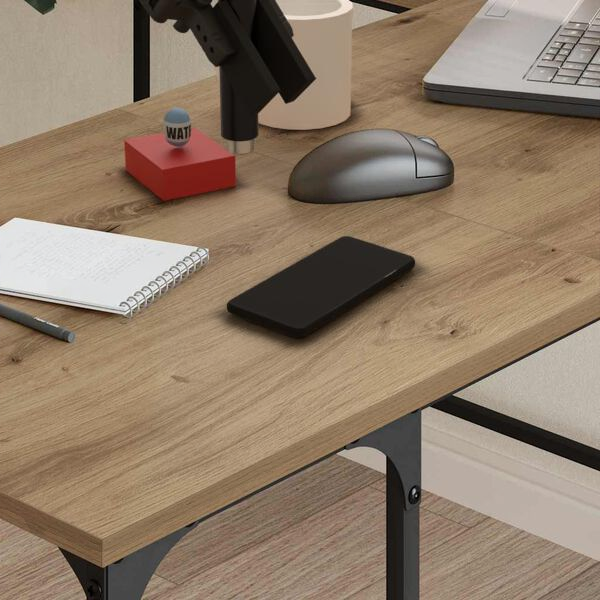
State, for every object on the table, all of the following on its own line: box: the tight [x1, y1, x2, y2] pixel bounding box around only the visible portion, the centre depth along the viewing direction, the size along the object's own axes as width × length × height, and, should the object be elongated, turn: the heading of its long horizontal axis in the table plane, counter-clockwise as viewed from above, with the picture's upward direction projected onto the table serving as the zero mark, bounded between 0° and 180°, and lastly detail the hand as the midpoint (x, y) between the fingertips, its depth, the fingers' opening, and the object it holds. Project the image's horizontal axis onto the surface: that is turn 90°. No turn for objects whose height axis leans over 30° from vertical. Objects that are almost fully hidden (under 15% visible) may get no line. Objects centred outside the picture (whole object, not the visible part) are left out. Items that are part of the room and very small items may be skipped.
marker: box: [217, 0, 259, 156], centre depth 87 cm, size 2×2×14 cm
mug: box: [212, 0, 354, 131], centre depth 137 cm, size 14×10×11 cm
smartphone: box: [226, 235, 416, 339], centre depth 103 cm, size 7×1×15 cm
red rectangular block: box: [123, 107, 237, 202], centre depth 122 cm, size 8×7×6 cm
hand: (282, 96), depth 86 cm, fingers closed on marker, 2 cm apart
